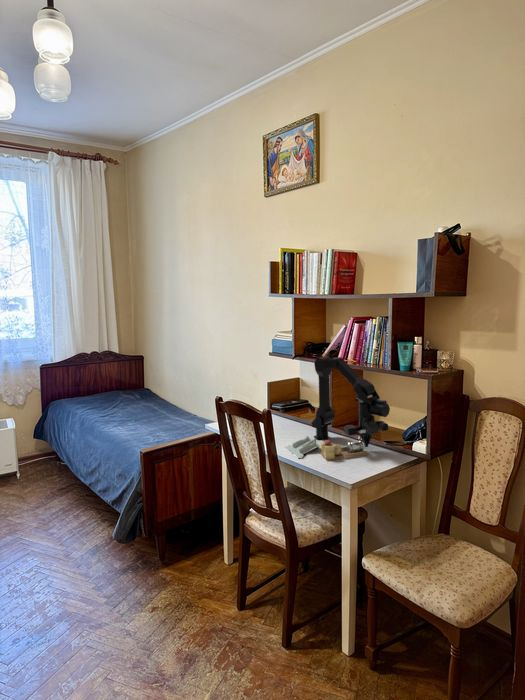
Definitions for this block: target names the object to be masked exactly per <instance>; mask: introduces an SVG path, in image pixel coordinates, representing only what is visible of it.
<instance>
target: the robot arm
mask: <svg viewBox="0 0 525 700" xmlns="http://www.w3.org/2000/svg"><path fill="white" fill-rule="evenodd" d="M313 363H314V370H315V373H316V375H318V407H317V409H316V413H315V418H314V419H313V421H312V422H311V423H310V424H311V426H312V428H314V429H315V435H314V436H313V438H314V439H316V441H326V440H331V439H332V438H331V437H330V436H329V426H330V425H332V424H333V421H334V420H335V418H336V416H335V409H333V408H332V407H331V403H330V402H331V395H330V393H331V391H330V390H331V388H330V375H331V373H332V372H333V368H335V369H336V370H337V371H338V372H339V373H340V374H341V375H342V376H343V377H344V379H346V380H347V381H348V382H349V383H350V384H351V386H352V389H353V391H354V393H355V395H356V396H357V397H356V398H355V399H354V401H355V402H358V412H359V413H357V416H358V417H359V418H358V423H357V424H358V426H355V425H353V424H346V425H344V427H343V432H344V434H346V435H347V436H355V435H357V434H358V435H359V436H360V438H361V441H362V443H363V446H364V447H365V448H368V447H369V445H370V442H371V439H372V437H373V436H374V435H375V434H379V431H382V432H384V431H385V432H386V431H389V428H390V426H389V424H388V423H387V422H385V421H384V420H376V419H375V416H379V417H383V418H386V417H388V415H389V414H390V412H391V411H390V409H391V408H390V406H389V403H387V402H388V401H387V400H385V399H381V398H380V396H379V394H378V392H377V391H376V389H375V386H374V384H373V383H372V382H370V381H369V380H368V379H365V378H362V377H361V376H360V375H359V374H358V373H357V372H356V371H355V370H353V368H352V367H351V366H350V365H349V364H347V362H346V361H345V359H344V358H343V357H341V356H338V357H331V356H328V355H327V356H326V355H325V356H320V357H318V358H316V359H315V360H314V362H313Z"/></svg>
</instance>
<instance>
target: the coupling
mask: <svg viewBox="0 0 525 700" xmlns="http://www.w3.org/2000/svg"><path fill="white" fill-rule="evenodd" d="M345 446H346V450H347V452H348V454H350V453H354V452H364V449H365V448H364V447H365V445H364V443H363V440H362V439H360V440H357V441H352V442H350V441H347V442H346V443H345Z"/></svg>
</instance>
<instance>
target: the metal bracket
mask: <svg viewBox="0 0 525 700" xmlns="http://www.w3.org/2000/svg"><path fill="white" fill-rule="evenodd" d="M319 447H321V443H318V442H317V439H316V438H314V439H313V438H311V437H309V436H306V437H304V439H303V438H302V439H299V440H297V441H295V442H293V443H292V445H291V444H288V445H286V446H284V449H285V448H286V449H288V450H289V451H290V452H292V453H293V454H295V455H296V456H297V457H298V458H300V459H301V458H303V457H305V455H304V454H307V453H308V452H310V451H312V450H314V449H319ZM286 449H285V450H286ZM288 450H287V451H288ZM289 451H288V452H289ZM290 452H289V453H290ZM292 453H291V454H292ZM293 454H292V455H293Z"/></svg>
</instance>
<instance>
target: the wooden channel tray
mask: <svg viewBox="0 0 525 700" xmlns="http://www.w3.org/2000/svg"><path fill="white" fill-rule="evenodd" d="M319 455H321V457H323V459H324V460H325V461H326V462H327V463H328V462H333V461H340V460H341V461H342V460H348V459H355V458H363V457H368V452H367V451H364V450H363V452H354V453H350V454H348V452H347V450H346V445H345V446H341V445H340V443H338V444H337V443H335V444H333V443H332V441H331V440H330V439H326V440H323V442H320V452H319Z"/></svg>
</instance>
